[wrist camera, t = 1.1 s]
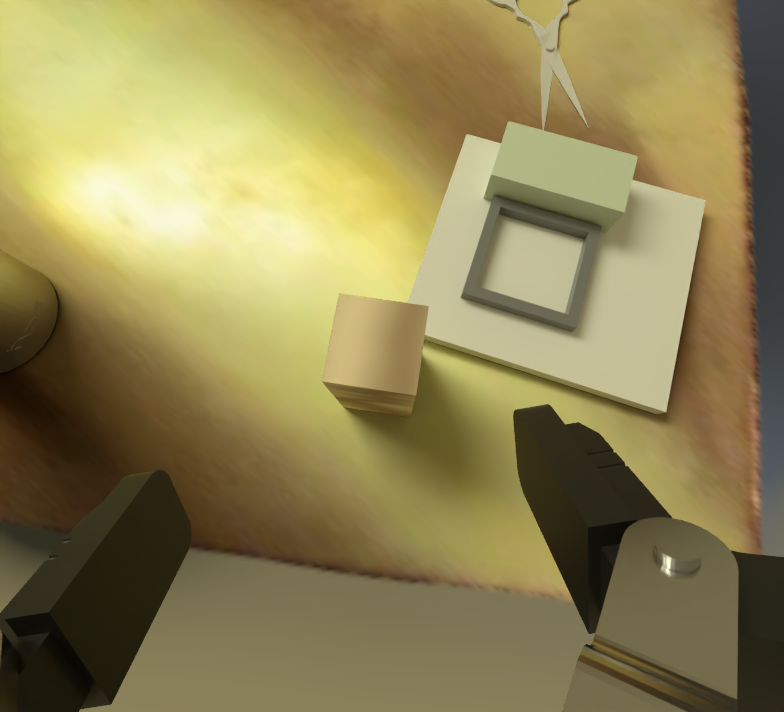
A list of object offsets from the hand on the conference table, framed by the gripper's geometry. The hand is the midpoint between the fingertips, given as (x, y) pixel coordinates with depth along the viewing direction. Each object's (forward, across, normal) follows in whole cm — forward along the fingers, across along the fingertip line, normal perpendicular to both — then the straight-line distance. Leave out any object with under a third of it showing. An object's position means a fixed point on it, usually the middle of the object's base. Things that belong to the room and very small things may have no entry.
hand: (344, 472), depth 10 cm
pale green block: (+30, -16, -2) cm, 34 cm away
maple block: (+22, 0, +8) cm, 23 cm away
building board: (+27, -15, +3) cm, 31 cm away
